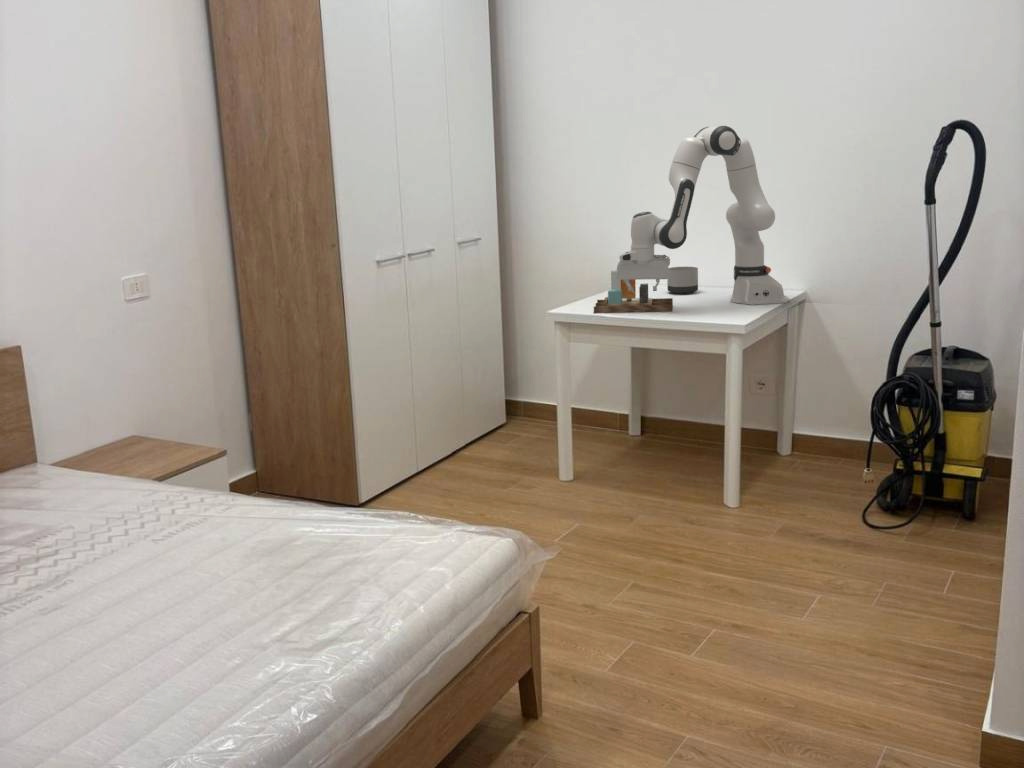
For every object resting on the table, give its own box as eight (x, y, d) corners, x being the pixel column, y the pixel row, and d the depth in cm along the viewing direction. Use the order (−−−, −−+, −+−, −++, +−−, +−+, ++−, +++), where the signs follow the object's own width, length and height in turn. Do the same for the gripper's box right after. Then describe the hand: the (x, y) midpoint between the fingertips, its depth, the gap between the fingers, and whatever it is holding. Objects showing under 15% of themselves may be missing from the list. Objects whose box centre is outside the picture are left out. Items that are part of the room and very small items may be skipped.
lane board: (672, 304, 391) (672, 298, 391) (672, 311, 375) (672, 305, 374) (597, 305, 396) (597, 299, 396) (593, 313, 380) (593, 306, 379)
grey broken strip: (652, 302, 391) (652, 282, 389) (651, 305, 385) (651, 285, 383) (607, 303, 394) (606, 283, 392) (606, 306, 388) (605, 286, 386)
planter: (664, 291, 424) (663, 267, 422) (693, 289, 425) (693, 265, 423) (671, 296, 412) (671, 271, 409) (701, 294, 413) (701, 269, 411)
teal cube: (622, 301, 384) (621, 289, 383) (621, 304, 379) (621, 291, 378) (609, 302, 385) (608, 289, 384) (608, 304, 380) (608, 291, 379)
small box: (621, 303, 399) (620, 271, 396) (611, 302, 404) (610, 270, 401) (636, 301, 403) (635, 269, 400) (626, 299, 408) (625, 268, 405)
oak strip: (651, 306, 383) (651, 285, 381) (651, 308, 377) (651, 288, 376) (605, 307, 386) (605, 286, 384) (604, 309, 381) (603, 289, 379)
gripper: (670, 253, 377) (669, 289, 380) (616, 254, 381) (616, 289, 384) (669, 255, 371) (669, 291, 374) (615, 256, 375) (615, 292, 378)
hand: (642, 290), depth 379 cm, fingers open, 8 cm apart
